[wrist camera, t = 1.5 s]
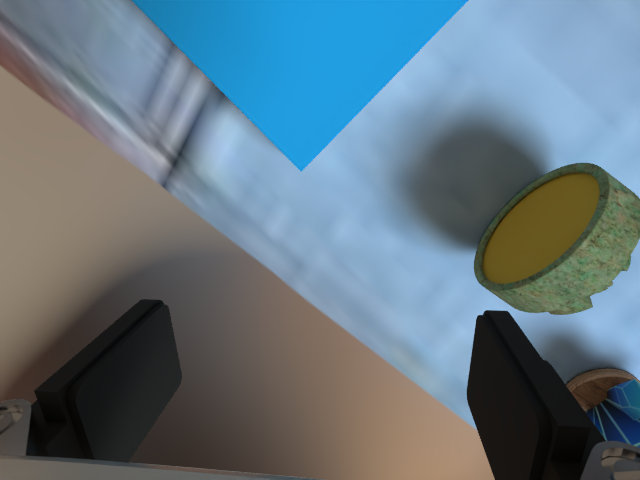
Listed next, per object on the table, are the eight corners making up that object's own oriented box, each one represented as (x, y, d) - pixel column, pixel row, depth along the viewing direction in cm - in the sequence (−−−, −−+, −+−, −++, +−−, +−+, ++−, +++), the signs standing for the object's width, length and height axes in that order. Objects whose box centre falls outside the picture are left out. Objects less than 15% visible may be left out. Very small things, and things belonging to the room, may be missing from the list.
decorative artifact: (552, 153, 27) (652, 177, 17) (622, 207, 27) (755, 257, 18) (460, 253, 30) (501, 318, 21) (524, 299, 31) (592, 381, 22)
